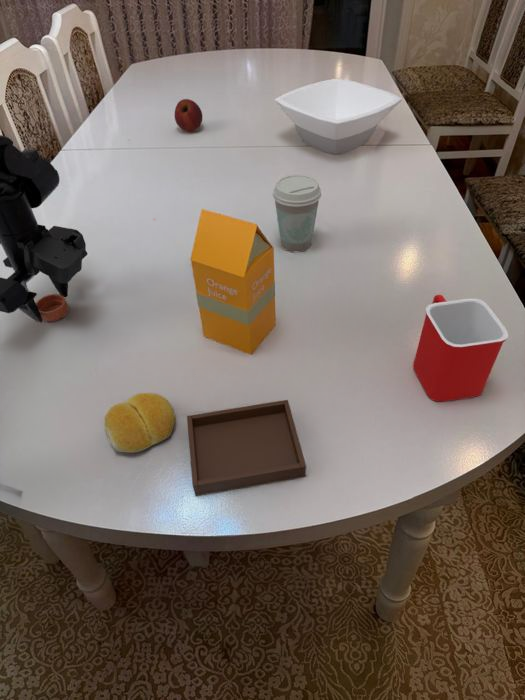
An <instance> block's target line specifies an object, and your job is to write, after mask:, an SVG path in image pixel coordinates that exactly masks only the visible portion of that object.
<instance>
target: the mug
mask: <svg viewBox="0 0 525 700" xmlns="http://www.w3.org/2000/svg"><path fill="white" fill-rule="evenodd" d="M507 329H508V328H506V327H505V325H504V324H503V322H501V320H500V318H498V316H497V314H495V312H494V311H493V310H492V308H491V307H490V305H489V304H488V303H487V302H485V301H484V300H482V299H479V298H473V297H472V298H471V297H470V298H462V299H454V300H448V301H447V300H446V299H445V297H444V296H443V295H442V294H435V295H434V296H433V299H432V303H430V304H427V306H426V307H425V317H424V321H423V325H422V330H421V333H420V337H419V341H418V345H417V348H416V353H415V355H414V360H413V364H412V366H413V371H414V373H415V375H416V377H417V379H418V381H419V382H420V385H421V386H422V388H423V391H424V393H425V394H426V395H427V397H428V398H429V399H430V400H432V401H435V402H448V401H455V400H461V399H462V400H463V399H468V398H475V397H478V396H480V395H482V393H483V391H484V389H485V386H486V384H487V383H488V379H489V377H490V375H491V372H492V370H493V368H494V365H495V363H496V361H497V358H498V356H499V353H500V352H501V349H502V346H503V344H504V342H506V341H507V339H508V337H510V336H509V332H508V330H507Z"/></svg>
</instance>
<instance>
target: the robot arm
mask: <svg viewBox="0 0 525 700" xmlns="http://www.w3.org/2000/svg"><path fill="white" fill-rule="evenodd" d="M59 184H60V174H59V172H58V170H57V169H56V168H55V166H53V164H52V163H51V162H50V161H48V160H47V159H46V158H44V157H41V156H40V154H39V151H38V149H35V148H24V149H23V150H22V151H21V150H19V149H18V148H17V147H16V146H15V145H14V141H13V140H12V139H11V138H10V137H9V136H6V135H3V134H2V135H1V134H0V246H1V247H2V249H3V252H4V253H5V255H6V258H4V259H3V260H2V262H3V264H4V266H5V267H6V268H10V269H13V271H14V272H13V273H12V274H11V275H9V276H8V277H7V278H6V277H1V276H0V312H1V313H6V314H12V313H15V312H16V311H17V310H20V311H21V312H23V313H24V314H26V316H28V317H29V318H31V319H33V321H35V322H37V323H41V324H42V322H43V321H44V320H42V317H41V314H40V312H39V309H38V307H37V305H36V300H35V298H36V297H37V295H38V293H37V292H34V291H30V290H29V288H28V285H27V284H28V282H30V281H31V280H32V279H33V278H34V277H36V276H37V275H38V274H39V273H42V274H43V275H46V276H48V278H49V279H50V281H51V283H52V285H53V286H54V288H55V290H56V291H57V293H58V294H60V295H62V296H64V298H67V297H68V296H69V282H70V281H72V279H73V278H74V277H76V275H77V274H78V273H80V272H81V271H82V268H83V260H84V259H85V258H86V257H87V256H88V252H87V250H86V249H87V247H86V246H87V245H86V244H87V243H86V240H85V238H84V235H83V234H82V232H80V231H79V230H77V229H75V228H69V227H63V226H59V225H53V226H52V227H50V228H49V229H48V228H47V227H46V225H43V224H39V223H38V221H37V219H36V216H35V213H34V211H33V209H37V208H39V207H40V206H41V205H42V204H43V203H44V202H45V201H46V200H47V199H48V198H49V196H51V194H52V193H53V192H54V191H55V190H56V189H57V187H59Z"/></svg>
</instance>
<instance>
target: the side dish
mask: <svg viewBox="0 0 525 700" xmlns="http://www.w3.org/2000/svg"><path fill="white" fill-rule="evenodd" d="M35 303H36V305H37V307H38V309H39V312H40V314H41V317H42V320H43V321H44V322H49V323H50V322H51V323H52V322H57V321H59V320H61V319H63V318H65V317H66V315H67V314H68V312H69V309H70V308H69V304H68V302H67V300H66V297H64V296H62V295H60V294H59V293H52V294H50V293H49V294H47V295H44V296H42V297H41V298H39V299H37V301H35Z"/></svg>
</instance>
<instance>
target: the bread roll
mask: <svg viewBox="0 0 525 700" xmlns="http://www.w3.org/2000/svg"><path fill="white" fill-rule="evenodd" d="M175 423H176V412H175V409H174V408H173V406H172V404H171V403H170V401H169V400H168V399H167V398H166V397H164V396H163V395H160V394H158V393H153V392H141V393H136V394H135V395H132V396H131V397H129V398H128V399H127V400H124V401H123V402H119V403H116V404H114V405H113V406H112V407H110V408H109V410H107V412H106V414H105V416H104V433H105V435H106V437H107V439H108V442H109V444H110V446H112V448H113V450H114V451H116V452H120V453H126V454H127V453H129V454H130V453H131V454H135V453H140V452H142V451H144V450H146V449H148V448H150V447H152V446H154V445H156V444H159V443H161V442H163V441H165V440H166V439H168V438H169V437H170V436H171V434H172V432H173V430H174V427H175Z"/></svg>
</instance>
